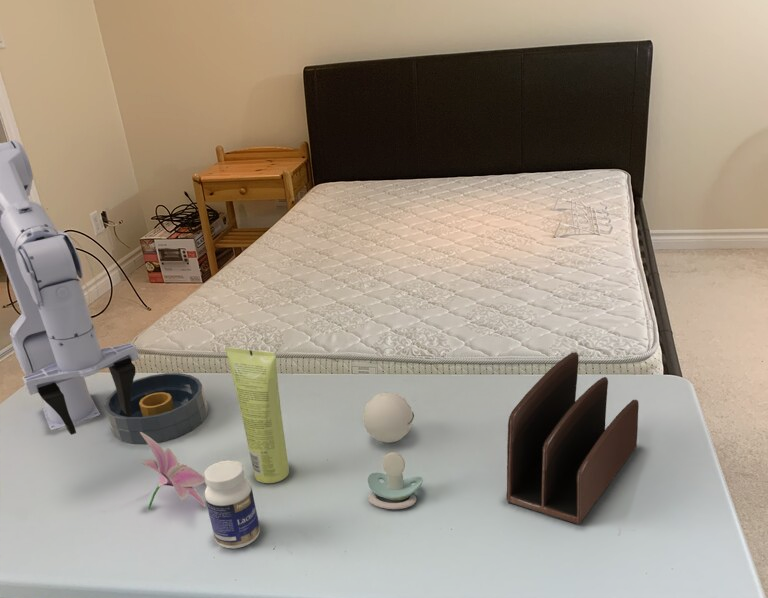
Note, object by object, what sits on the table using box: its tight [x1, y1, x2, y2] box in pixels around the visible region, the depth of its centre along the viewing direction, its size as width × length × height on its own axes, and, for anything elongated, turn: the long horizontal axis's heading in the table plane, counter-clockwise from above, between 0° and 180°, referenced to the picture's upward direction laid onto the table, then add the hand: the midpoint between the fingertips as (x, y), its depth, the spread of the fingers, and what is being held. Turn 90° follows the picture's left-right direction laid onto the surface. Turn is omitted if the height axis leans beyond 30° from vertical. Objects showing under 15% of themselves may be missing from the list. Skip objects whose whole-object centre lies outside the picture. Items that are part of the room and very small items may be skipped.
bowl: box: [104, 372, 209, 445], centre depth 123 cm, size 15×15×5 cm
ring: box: [139, 392, 175, 417], centre depth 123 cm, size 5×5×4 cm
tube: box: [224, 346, 290, 484], centre depth 103 cm, size 6×5×20 cm
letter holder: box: [506, 351, 640, 525], centre depth 97 cm, size 10×20×14 cm, turn 145°
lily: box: [140, 432, 207, 510], centre depth 102 cm, size 12×12×10 cm
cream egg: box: [362, 392, 415, 444], centre depth 112 cm, size 10×7×7 cm
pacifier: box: [367, 451, 424, 510], centre depth 98 cm, size 7×6×6 cm
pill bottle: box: [203, 460, 261, 549], centre depth 94 cm, size 6×6×10 cm
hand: (99, 421), depth 105 cm, fingers open, 7 cm apart
